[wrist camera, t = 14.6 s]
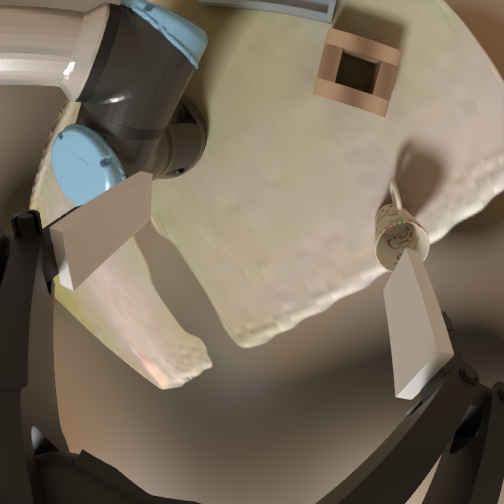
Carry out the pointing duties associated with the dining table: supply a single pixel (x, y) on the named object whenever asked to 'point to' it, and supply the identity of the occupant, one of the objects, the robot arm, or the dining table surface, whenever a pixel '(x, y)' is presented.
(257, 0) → the slate tray
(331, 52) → the wooden hollow square frame
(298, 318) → the dining table surface
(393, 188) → the mug
